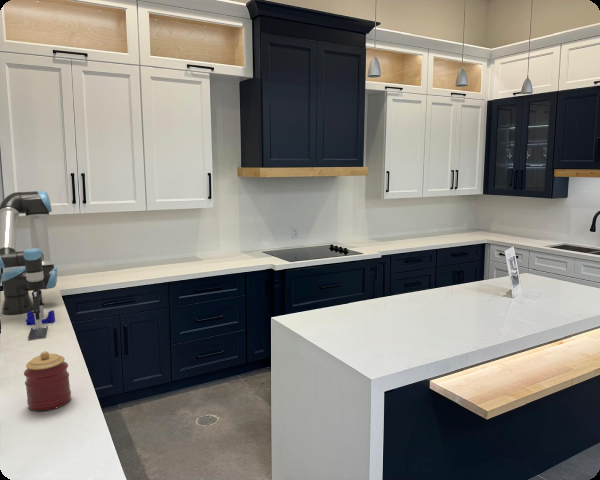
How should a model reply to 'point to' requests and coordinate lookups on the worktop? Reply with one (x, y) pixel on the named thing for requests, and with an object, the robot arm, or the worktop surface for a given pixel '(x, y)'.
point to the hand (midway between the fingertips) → (39, 321)
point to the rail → (37, 333)
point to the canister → (47, 382)
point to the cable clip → (49, 319)
